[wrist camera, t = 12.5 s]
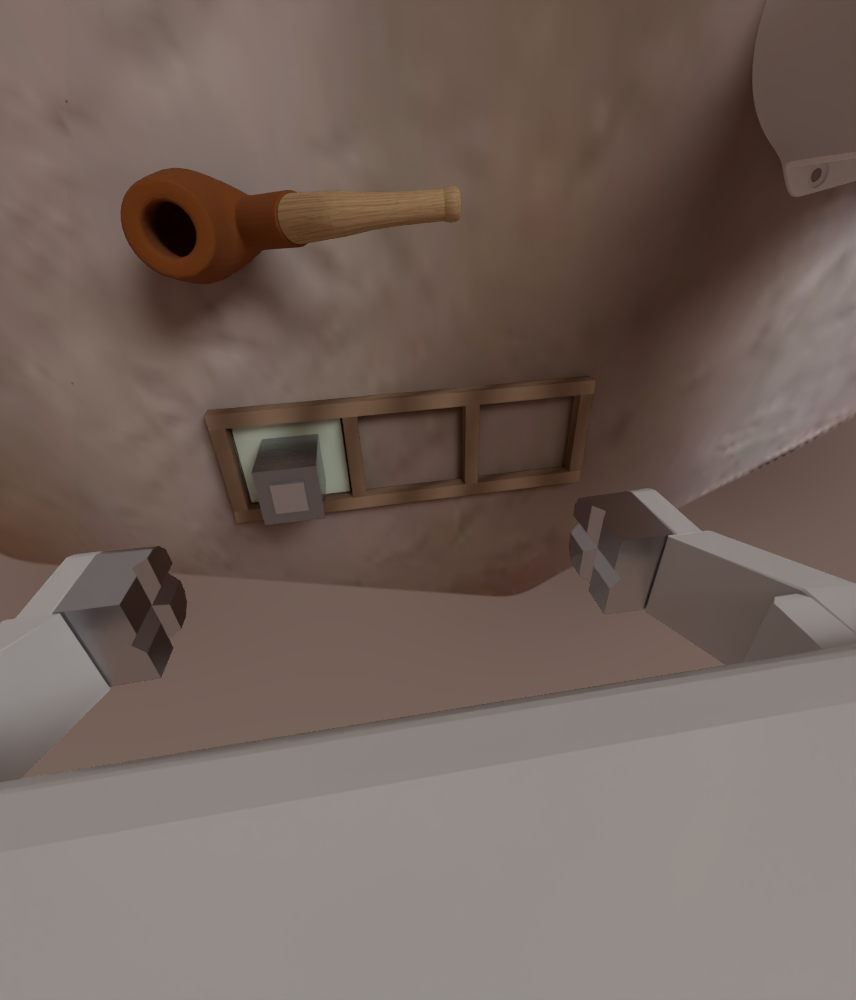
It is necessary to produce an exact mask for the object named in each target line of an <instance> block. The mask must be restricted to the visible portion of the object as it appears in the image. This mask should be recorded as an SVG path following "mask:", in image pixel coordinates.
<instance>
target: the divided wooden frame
mask: <svg viewBox="0 0 856 1000" xmlns="http://www.w3.org/2000/svg"><path fill="white" fill-rule="evenodd" d="M595 383H596V380H595V379H593V378H591V377H590V376H586V377H575V378H564V379H552V380H541V381H530V382H519V383H508V384H496V385H485V386H474V387H463V388H452V389H440V390H429V391H418V392H407V393H396V394H384V395H373V396H362V397H351V398H340V399H328V400H317V401H306V402H295V403H284V404H272V405H261V406H250V407H239V408H228V409H216V410H208V411H207V412H206V414H205V415H204V417H205V420H206V424H207V427H208V430H209V433H210V437H211V440H212V443H213V447H214V450H215V453H216V456H217V460H218V463H219V466H220V469H221V473H222V476H223V479H224V482H225V486H226V489H227V492H228V496H229V499H230V502H231V505H232V509H233V512H234V515H235V518H236V522H237V524H238V523H246V522H254V521H262V520H264V519H263V515H262V512H261V508H260V504H259V500H258V496H257V493H256V489H255V485H254V481H253V478H252V474H251V472H252V469H253V466H254V463H255V460H256V457H257V454H258V451H259V448H260V444H261V441H262V439H269V438H280V437H290V436H301V435H311V434H318V436H319V442H320V448H321V454H322V460H323V466H324V472H325V478H326V508H325V513H327V512H335V511H343V510H352V509H360V508H368V507H376V506H384V505H392V504H400V503H409V502H417V501H425V500H433V499H441V498H449V497H457V496H466V495H474V494H482V493H490V492H498V491H506V490H514V489H523V488H531V487H539V486H547V485H555V484H563V483H571V482H579V481H580V475H581V468H582V462H583V456H584V450H585V444H586V438H587V432H588V426H589V419H590V413H591V407H592V401H593V395H594V389H595ZM566 396H574V397H573V405H572V412H571V419H570V426H569V433H568V440H567V447H566V455H565V462H564V466H562V467H554V468H545V469H537V470H528V471H519V472H511V473H502V474H494V475H485V476H478V449H479V414H480V405H482V404H492V403H503V402H513V401H524V400H534V399H545V398H555V397H566ZM461 406H462V478H460V479H451V480H443V481H434V482H426V483H417V484H409V485H400V486H392V487H383V488H375V489H366V486H365V477H364V469H363V461H362V452H361V444H360V436H359V427H358V419H357V416H366V415H377V414H387V413H398V412H408V411H419V410H429V409H440V408H450V407H461ZM340 418H342V420H343V428H344V435H345V442H346V449H347V457H348V464H349V471H350V478H351V485H352V491H350V485H349V477H348V470H347V463H346V456H345V449H344V442H343V435H342V428H341V421H340ZM230 428H231V429H232V433H233V437H234V440H235V444H236V447H237V451H238V455H239V458H240V462H241V465H242V469H243V473H244V476H245V480H246V484H247V487H248V491H249V494H250V498H251V502H255V503H250V501H249V497H248V494H247V490H246V486H245V483H244V479H243V476H242V472H241V469H240V465H239V461H238V458H237V454H236V451H235V447H234V444H233V440H232V436H231V433H230ZM346 491H349V492H346ZM338 492H341V493H338ZM329 493H332V494H329Z"/></svg>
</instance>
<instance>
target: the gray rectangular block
mask: <svg viewBox="0 0 856 1000" xmlns="http://www.w3.org/2000/svg"><path fill="white" fill-rule="evenodd" d="M251 474H252V478H253V481H254V485H255V489H256V493H257V496H258V500H259V504H260V508H261V512H262V515H263V519H264V523H265V525H272V524H280V523H288V522H297V521H305V520H313V519H321V518H325V508H326V478H325V472H324V466H323V460H322V454H321V448H320V442H319V436H318V434H311V435H301V436H290V437H280V438H269V439H262V441H261V444H260V448H259V451H258V454H257V457H256V460H255V463H254V466H253V469H252V472H251Z"/></svg>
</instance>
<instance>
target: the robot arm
mask: <svg viewBox="0 0 856 1000" xmlns="http://www.w3.org/2000/svg"><path fill="white" fill-rule="evenodd" d="M752 87H753V98H754V104H755V109H756V113H757V116H758V119H759V122H760V125H761V127H762V130H763V132H764V134H765V136H766V137H767V139H768V141H769V142H770V144H771V145H772V147H773V148H774V150H775V151H776V153H777V155H778V156H779V158H780V161H781V163H782V169H783V175H784V181H785V185H786V189H787V191H788V193H789V194H790V195H791V196H792V197H801V196H804V195H808V194H812V193H815V192H819V191H822V190H826V189H829V188H833V187H837V186H840V185H844V184H847V183H851V182H854V181H856V0H767V1H766V4H765V7H764V10H763V14H762V17H761V21H760V24H759V28H758V33H757V37H756V43H755V49H754V56H753V68H752ZM817 168H820V169H821V176H820V178H819V179H818V180H817V181H815V182H812V181H811V175H812V173H813V171H814V170H815V169H817ZM573 515H574V517H575V518H576V519H577V521H578V522H579V523H578V524H577V526H576V527H575V528H574V529H573V530H572V531H571V532H570V541H569V550H570V557H571V560H572V563H573V566H574V568H575V569H576V571H577V573H578V574H579V576H581V577H583V578H585V579H587V580H588V581H590V587H589V592H590V593H591V595H592V596H593V598H594V599H595V601H596V602H597V604H598V606H599V607H600V609H601V610H602V612H603V613H604V614H610V613H619V612H627V611H636V610H644V609H646V610H645V612H647V613H648V614H650V615H651V616H653V617H654V618H656V619H657V620H659V621H660V622H662V623H663V624H665V625H666V626H668V627H669V628H671V629H672V630H674V631H676V632H677V633H678V634H680V635H682V636H683V637H685V638H686V639H688V640H689V641H690V642H692V643H694V644H695V645H696V646H698V647H700V648H701V649H702V650H704V651H706V652H707V653H709V654H710V655H712V656H713V657H715V658H716V659H718V660H719V661H721V662H722V663H724V664H725V665H724V666H717V667H711V668H705V669H699V670H693V671H686V672H680V673H674V674H668V675H661V676H656V677H649V678H643V679H636V680H630V681H624V682H618V683H612V684H606V685H600V686H593V687H587V688H581V689H574V690H568V691H562V692H556V693H549V694H544V695H537V696H531V697H524V698H518V699H512V700H506V701H500V702H494V703H487V704H481V705H475V706H469V707H462V708H456V709H450V710H444V711H437V712H432V713H425V714H419V715H413V716H406V717H400V718H395V719H388V720H382V721H376V722H369V723H363V724H357V725H350V726H345V727H338V728H332V729H326V730H319V731H313V732H308V733H301V734H295V735H289V736H282V737H276V738H270V739H264V740H257V741H251V742H245V743H239V744H233V745H227V746H220V747H214V748H208V749H201V750H195V751H189V752H183V753H177V754H170V755H165V756H158V757H152V758H146V759H139V760H134V761H127V762H121V763H115V764H108V765H102V766H96V767H90V768H84V769H78V770H71V771H65V772H59V773H53V774H46V775H40V776H34V777H28V778H22V777H23V776H24V775H25V774H26V773H27V772H28V771H29V770H30V769H31V768H32V767H33V766H34V764H36V763H37V762H38V761H39V760H40V759H41V758H42V757H43V756H44V755H45V754H46V753H47V752H48V751H49V750H50V749H51V748H52V747H53V746H54V745H55V744H56V743H57V742H58V741H59V740H60V739H61V738H62V737H63V736H64V735H65V734H66V733H67V732H68V731H69V730H70V729H71V728H72V727H73V726H74V725H75V724H76V723H77V722H78V721H79V720H80V719H81V718H82V717H83V716H84V715H85V714H86V713H87V712H88V711H89V710H90V709H91V708H92V707H93V706H94V705H95V704H96V703H97V702H98V701H99V700H100V699H101V698H102V697H103V696H104V695H105V694H106V693H107V692H108V691H109V690H110V687H112V686H118V685H124V684H129V683H135V682H141V681H147V680H153V679H158V678H161V677H162V674H163V672H164V670H165V667H166V665H167V662H168V660H169V658H170V655H171V652H172V650H173V646H172V644H171V642H170V640H169V639H170V638H171V637H172V636H173V635H175V634H176V633H177V632H178V631H179V630H180V629H181V628H182V625H183V623H184V620H185V617H186V607H187V600H186V595H185V590H184V588H183V586H182V583H181V581H180V580H178V579H176V578H175V577H174V576H172V575H171V574H169V573H168V572H169V570H170V567H171V565H172V561H171V559H170V557H169V555H168V553H167V551H166V549H164V548H162V547H160V546H153V547H143V548H132V549H122V550H112V551H103V552H92V553H84V554H75V555H73V556H70V557H67V558H66V559H65V560H64V561H63V562H62V564H61V565H60V566H59V567H58V568H57V570H56V571H55V572H54V573H53V574H52V575H51V577H50V578H49V579H48V580H47V582H46V583H45V584H44V585H43V586H42V587H41V589H40V590H39V591H38V592H37V593H36V595H35V596H34V597H33V598H32V599H31V601H30V602H29V603H28V604H27V605H26V607H25V608H24V609H23V610H22V612H21V613H20V614H19V615H18V616H17V617H16V618H15V619H11V620H5V621H3V622H1V623H0V1000H856V584H854V583H852V582H849V581H846V580H844V579H841V578H838V577H835V576H832V575H830V574H827V573H824V572H822V571H819V570H816V569H813V568H811V567H808V566H805V565H803V564H800V563H797V562H794V561H791V560H789V559H786V558H783V557H780V556H778V555H775V554H772V553H770V552H767V551H764V550H761V549H759V548H756V547H753V546H750V545H748V544H745V543H742V542H739V541H737V540H734V539H731V538H729V537H726V536H723V535H720V534H718V533H715V532H712V531H701V530H700V529H699V528H697V527H696V526H695V525H694V524H693V523H692V522H691V521H690V520H688V519H687V518H686V517H685V516H684V515H683V514H682V513H681V512H679V511H678V510H677V509H676V508H675V507H674V506H673V505H672V504H670V503H669V502H668V501H667V500H666V499H665V498H664V497H663V496H661V495H660V494H659V493H658V492H657V491H656V490H654V489H650V488H644V489H637V490H631V491H625V492H620V493H613V494H605V495H597V496H590V497H582V498H578V500H577V502H576V504H575V508H574V514H573Z"/></svg>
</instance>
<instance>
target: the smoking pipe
mask: <svg viewBox="0 0 856 1000" xmlns="http://www.w3.org/2000/svg"><path fill="white" fill-rule="evenodd" d="M460 214H461V197H460V190H459V189H458V187H456V186H448V187H445V188H443V189H434V190H420V191H405V192H381V193H370V192H348V191H323V192H299V193H297V192H295V191H292V190H285V191H278V192H272V193H265V194H258V195H247V194H245V193H243V192H242V191H240V190H238V189H236V188H234V187H232V186H230V185H228V184H226V183H224V182H222V181H219V180H217V179H214V178H212V177H210V176H207V175H204V174H202V173H199V172H195V171H192V170H188V169H182V168H170V169H164V170H160V171H158V172H155V173H153V174H150V175H148V176H146V177H144V178H142V179H141V180H139V181H137V182H135V183H134V184H133V185H132V186H131V187H130V188H129V190H128V191H127V192H126V194H125V196H124V198H123V202H122V205H121V222H122V228H123V231H124V234H125V237H126V239H127V241H128V243H129V245H130V246H131V248H132V249H133V251H134V252H135V254H136V255H137V256H138V257H139V258H140V259H141V260H142V261H143V262H144V263H145V264H146V265H147V266H149V267H150V268H151V269H153V270H154V271H156V272H158V273H160V274H162V275H164V276H167V277H170V278H174V279H177V280H181V281H185V282H191V283H198V284H206V283H213V282H217V281H220V280H222V279H225V278H227V277H228V276H230V275H232V274H233V273H235V272H237V271H238V270H239V269H241V268H242V267H243V266H245V265H246V264H247V263H249V262H250V261H251V260H252V259H254V258H255V257H256V256H257V255H258V254H259V253H260V252H261V251H262V250H268V249H281V248H294V247H302V246H304V245H306V244H307V243H311V242H317V241H323V240H328V239H334V238H340V237H346V236H350V235H354V234H358V233H362V232H367V231H371V230H375V229H382V228H388V227H394V226H402V225H411V224H420V223H430V222H439V221H445V222H456V221H458V220H459V218H460Z"/></svg>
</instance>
